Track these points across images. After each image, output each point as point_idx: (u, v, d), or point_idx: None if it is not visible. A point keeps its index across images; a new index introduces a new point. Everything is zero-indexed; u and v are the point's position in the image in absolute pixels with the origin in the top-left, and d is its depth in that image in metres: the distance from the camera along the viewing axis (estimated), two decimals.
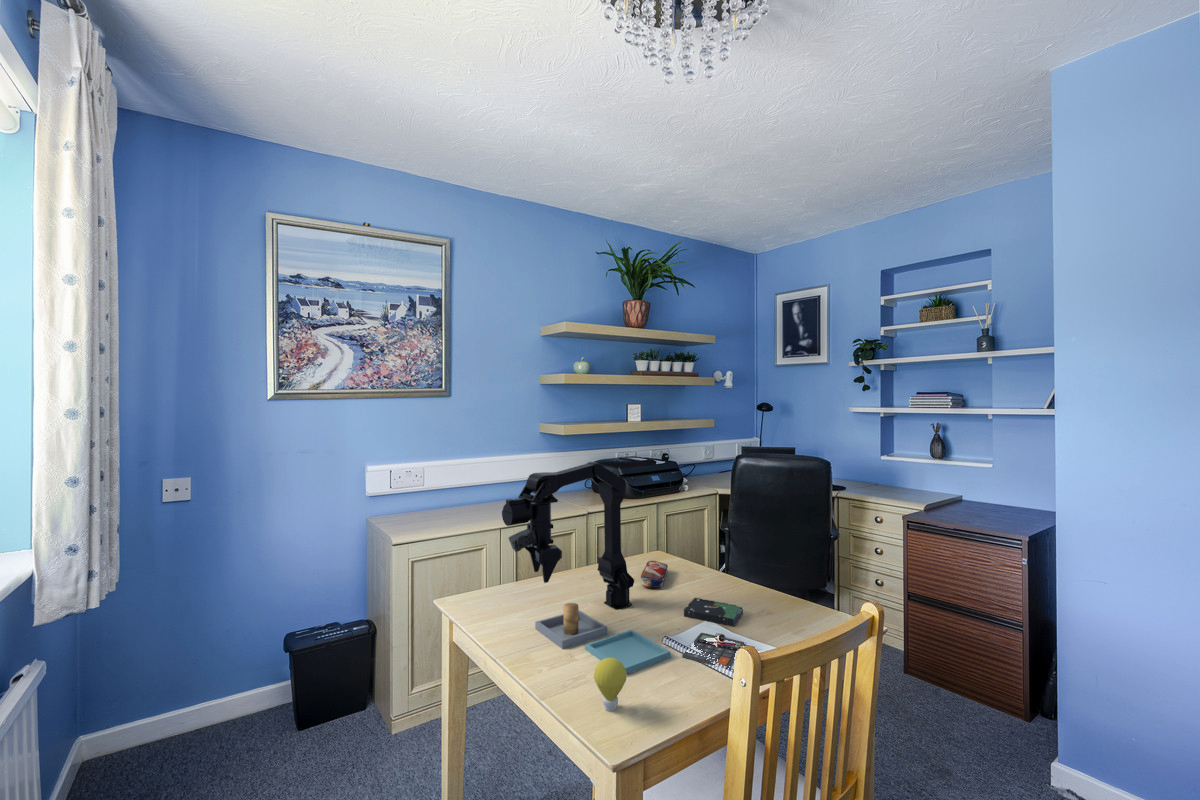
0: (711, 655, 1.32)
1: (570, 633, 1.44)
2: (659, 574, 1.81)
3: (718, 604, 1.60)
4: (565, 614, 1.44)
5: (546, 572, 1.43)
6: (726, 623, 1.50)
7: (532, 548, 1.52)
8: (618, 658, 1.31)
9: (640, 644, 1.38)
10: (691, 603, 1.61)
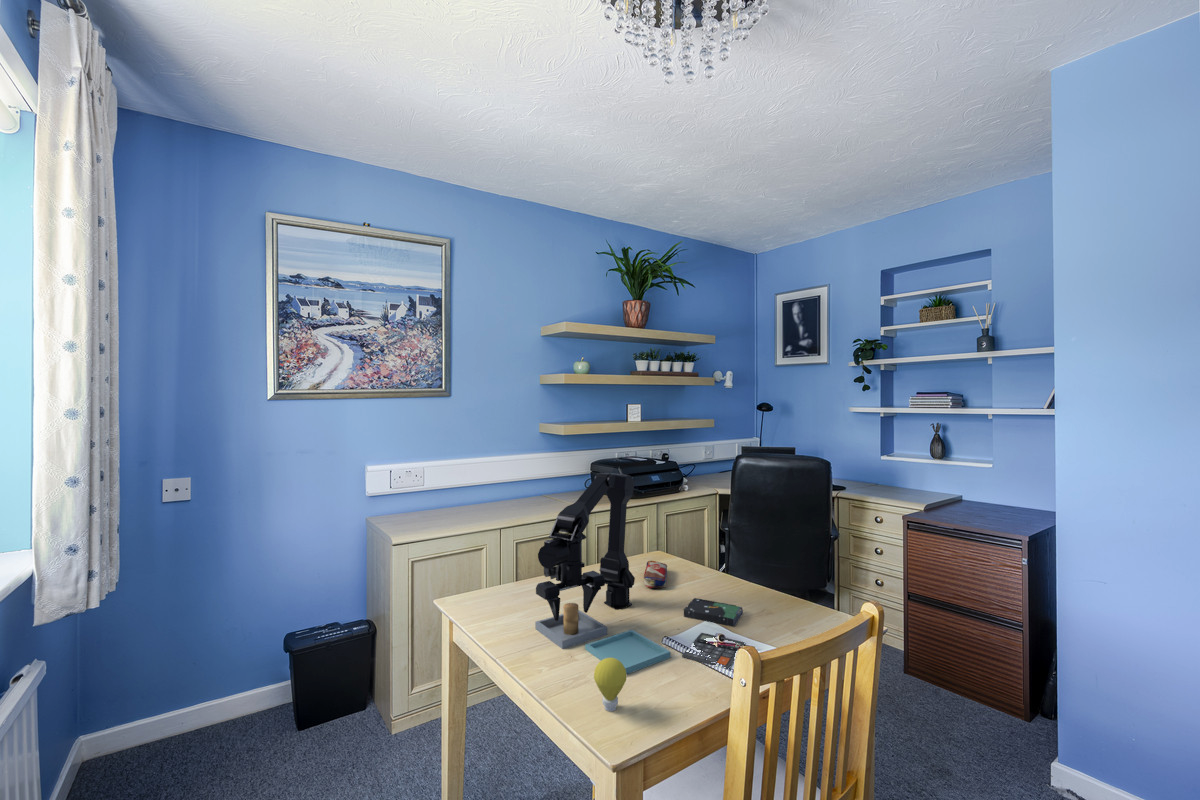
0: (711, 655, 1.32)
1: (570, 633, 1.44)
2: (662, 574, 1.81)
3: (718, 604, 1.60)
4: (565, 614, 1.44)
5: (552, 609, 1.42)
6: (726, 623, 1.50)
7: (585, 587, 1.49)
8: (618, 658, 1.31)
9: (640, 644, 1.38)
10: (691, 603, 1.60)
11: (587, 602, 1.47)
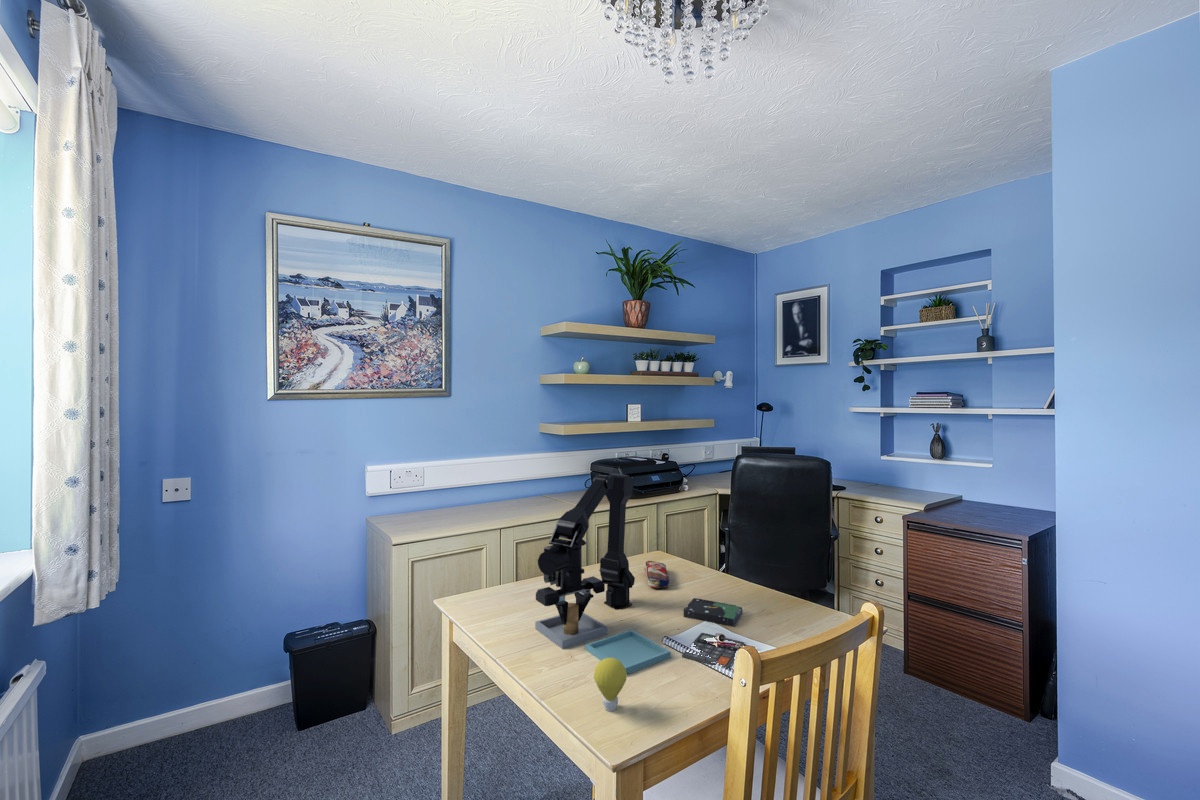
0: (711, 655, 1.32)
1: (570, 633, 1.44)
2: (664, 574, 1.82)
3: (717, 604, 1.60)
4: None
5: (560, 613, 1.44)
6: (726, 623, 1.50)
7: (577, 594, 1.48)
8: (618, 658, 1.31)
9: (640, 644, 1.38)
10: (690, 603, 1.60)
11: (579, 610, 1.46)
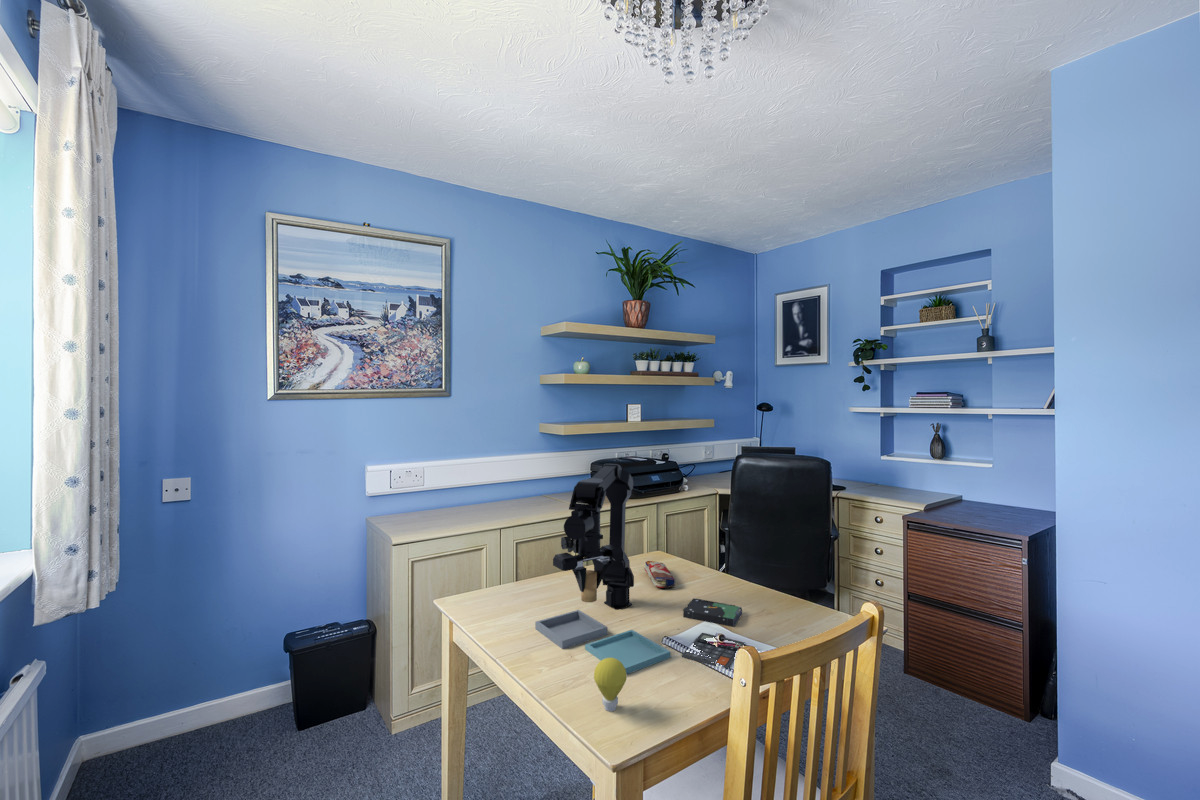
0: (711, 655, 1.32)
1: (588, 600, 1.39)
2: (669, 573, 1.82)
3: (717, 604, 1.60)
4: None
5: (578, 580, 1.39)
6: (726, 623, 1.50)
7: (595, 562, 1.43)
8: (618, 658, 1.31)
9: (640, 644, 1.38)
10: (690, 604, 1.60)
11: (598, 577, 1.41)
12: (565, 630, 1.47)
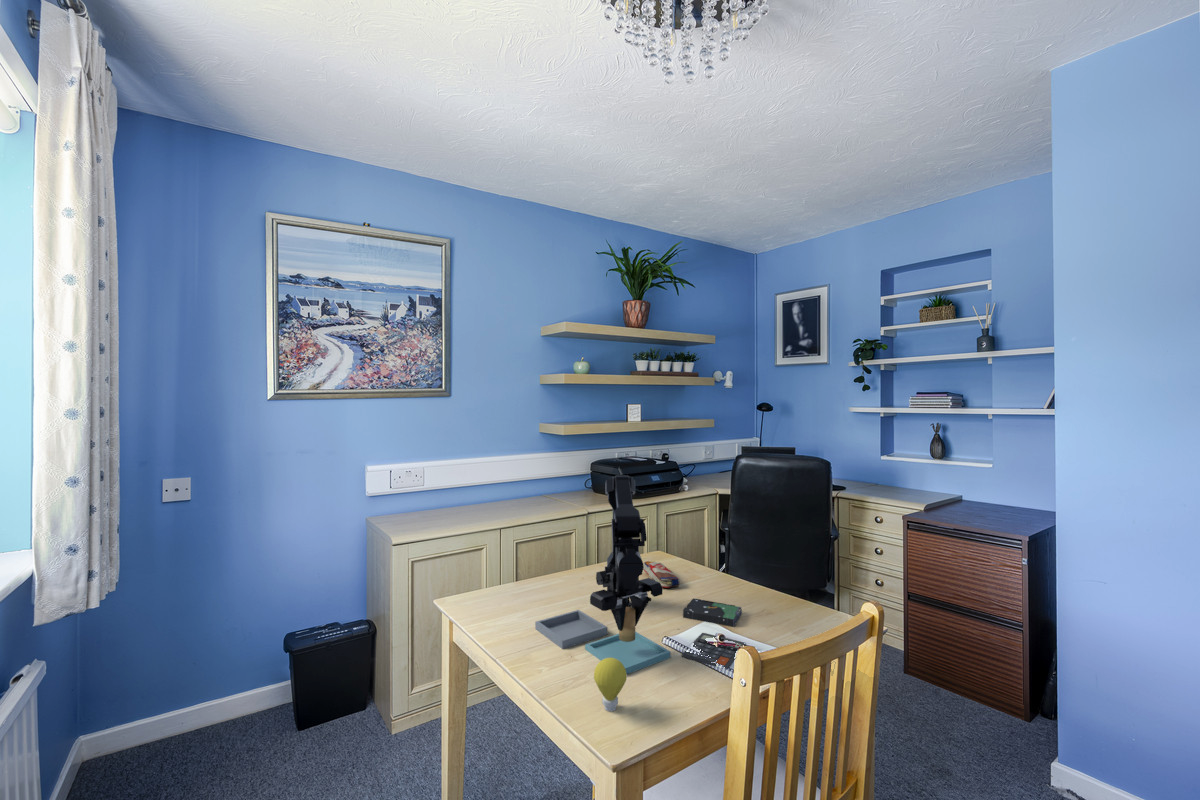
0: (710, 655, 1.32)
1: (627, 640, 1.32)
2: (672, 573, 1.83)
3: (717, 604, 1.60)
4: None
5: (616, 618, 1.32)
6: (726, 623, 1.50)
7: (633, 598, 1.36)
8: (618, 658, 1.31)
9: (640, 644, 1.38)
10: (690, 604, 1.60)
11: (636, 615, 1.34)
12: (565, 630, 1.47)
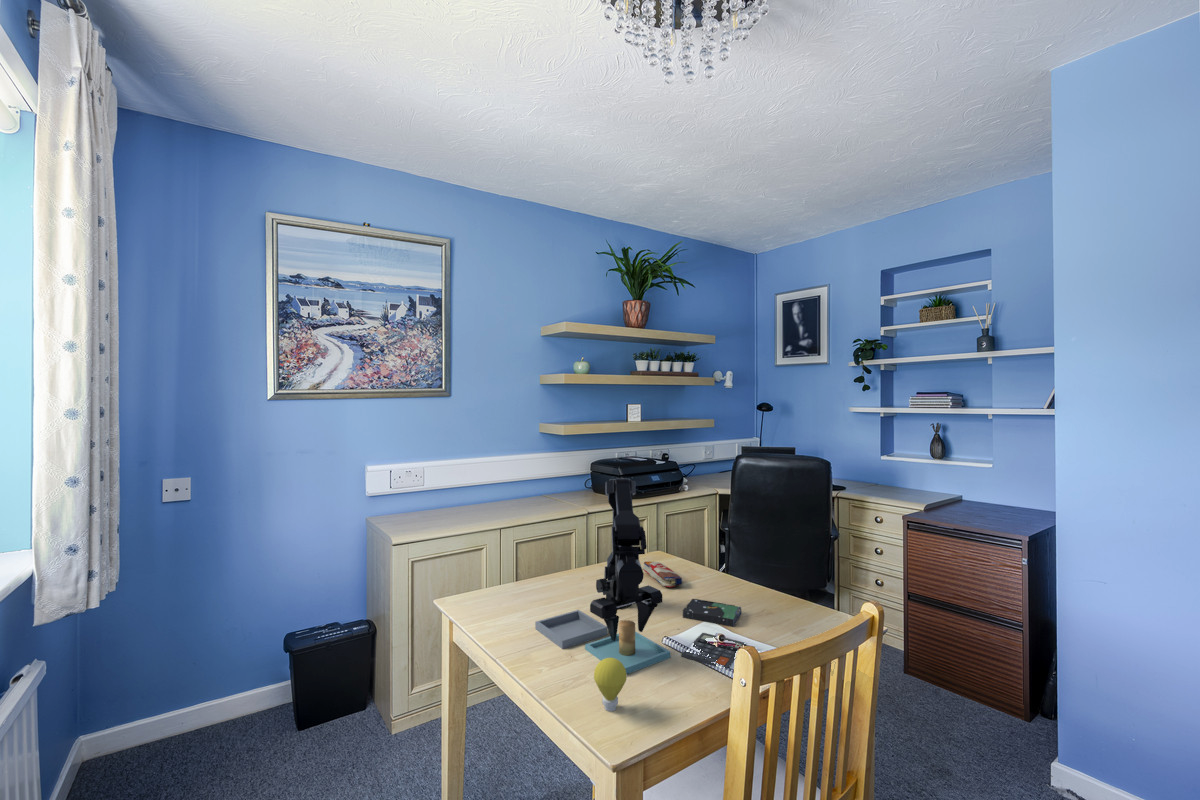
0: (710, 655, 1.32)
1: (627, 654, 1.32)
2: (674, 572, 1.83)
3: (716, 604, 1.60)
4: (621, 633, 1.32)
5: (609, 628, 1.31)
6: (726, 623, 1.50)
7: (639, 603, 1.37)
8: (618, 658, 1.31)
9: (640, 644, 1.38)
10: (689, 604, 1.60)
11: (643, 620, 1.35)
12: (565, 630, 1.47)
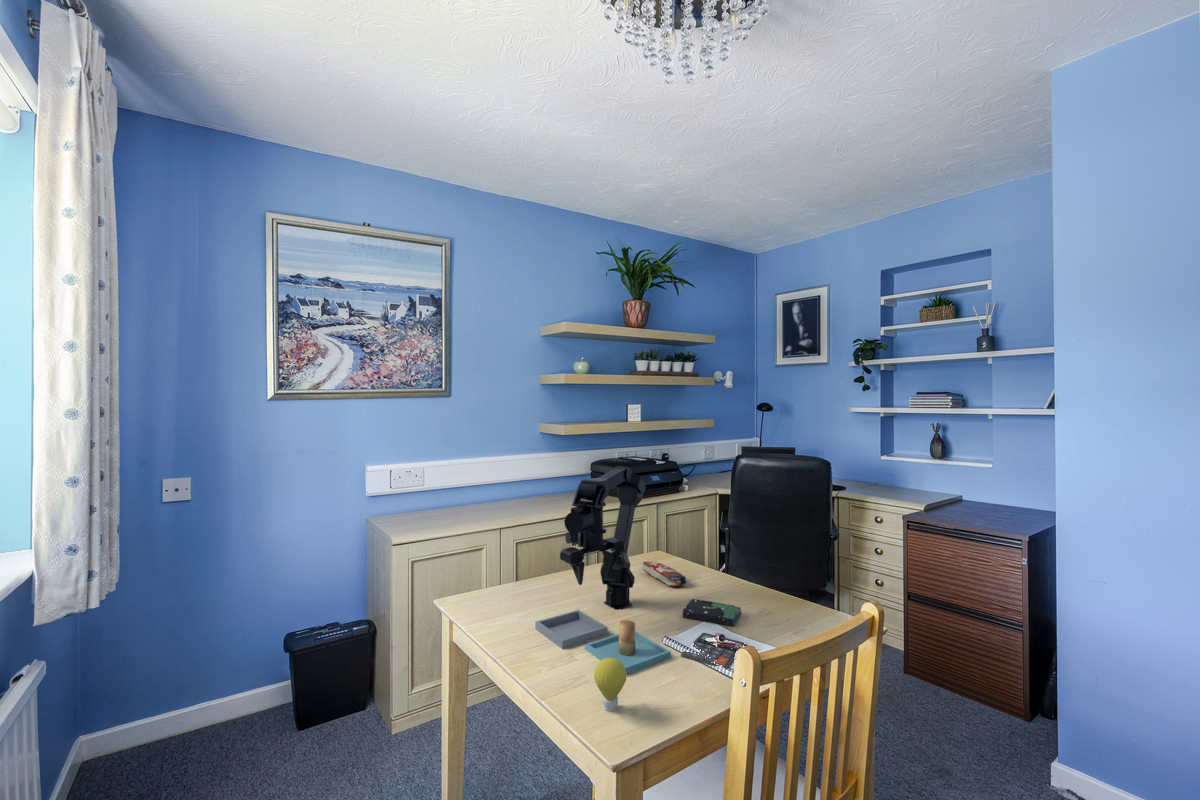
0: (710, 655, 1.32)
1: (627, 654, 1.32)
2: None
3: (716, 605, 1.60)
4: (621, 633, 1.32)
5: (576, 574, 1.48)
6: (725, 623, 1.50)
7: (605, 552, 1.55)
8: (618, 658, 1.31)
9: (640, 644, 1.38)
10: (689, 604, 1.60)
11: (608, 567, 1.53)
12: (565, 630, 1.47)
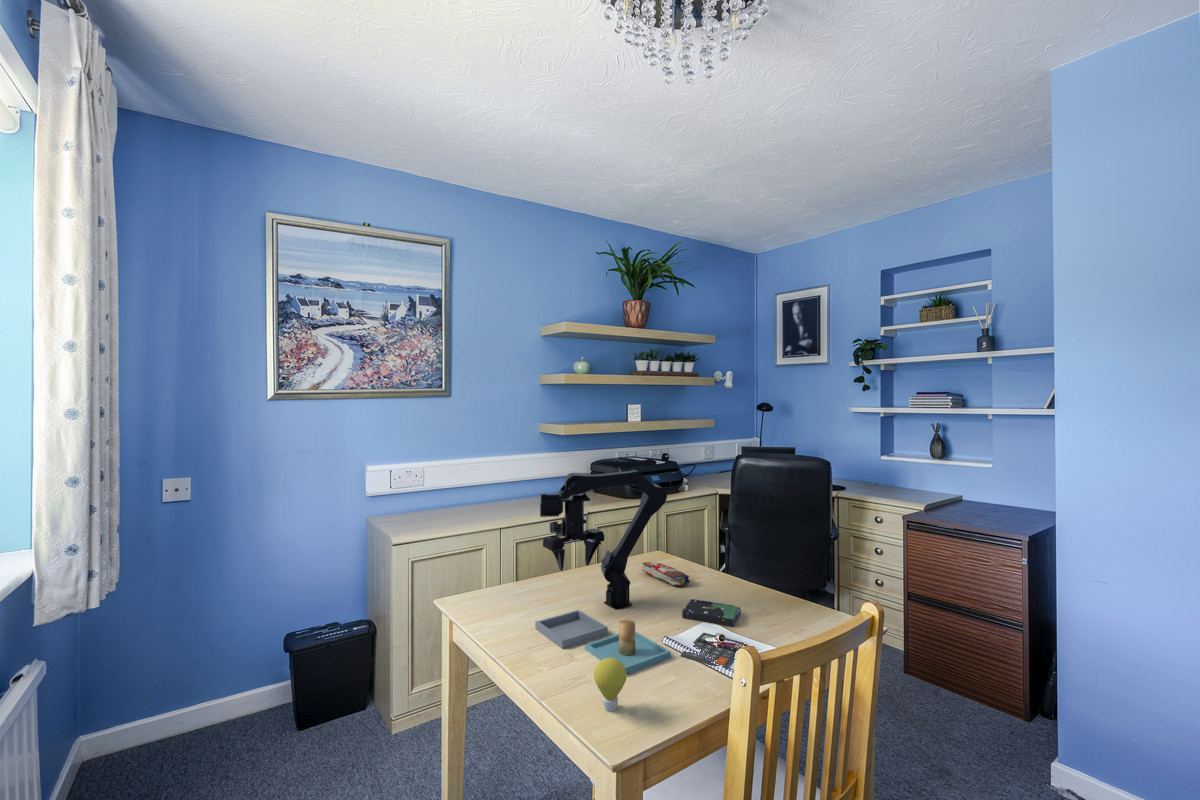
0: (710, 655, 1.32)
1: (627, 653, 1.32)
2: None
3: (716, 605, 1.59)
4: (621, 633, 1.32)
5: (557, 560, 1.59)
6: (725, 624, 1.50)
7: (586, 542, 1.66)
8: (618, 658, 1.31)
9: (640, 644, 1.38)
10: (689, 604, 1.60)
11: (588, 555, 1.64)
12: (565, 630, 1.47)
